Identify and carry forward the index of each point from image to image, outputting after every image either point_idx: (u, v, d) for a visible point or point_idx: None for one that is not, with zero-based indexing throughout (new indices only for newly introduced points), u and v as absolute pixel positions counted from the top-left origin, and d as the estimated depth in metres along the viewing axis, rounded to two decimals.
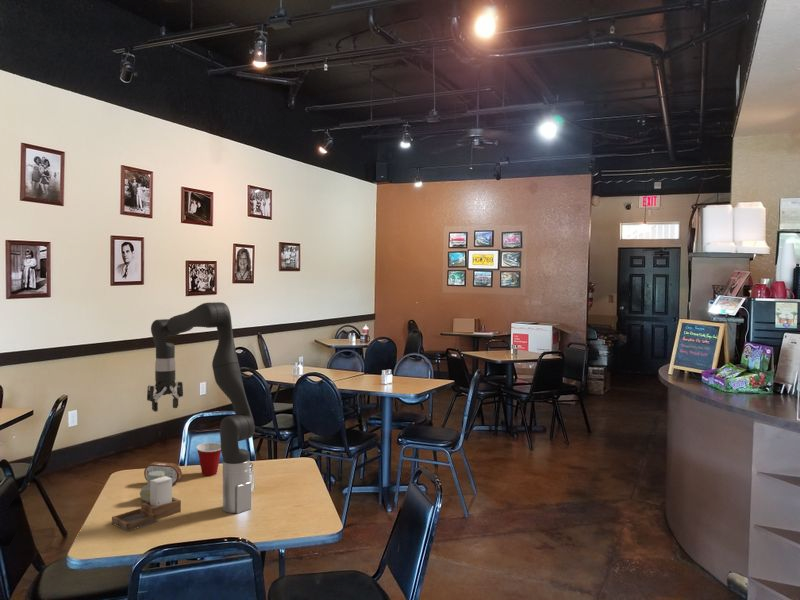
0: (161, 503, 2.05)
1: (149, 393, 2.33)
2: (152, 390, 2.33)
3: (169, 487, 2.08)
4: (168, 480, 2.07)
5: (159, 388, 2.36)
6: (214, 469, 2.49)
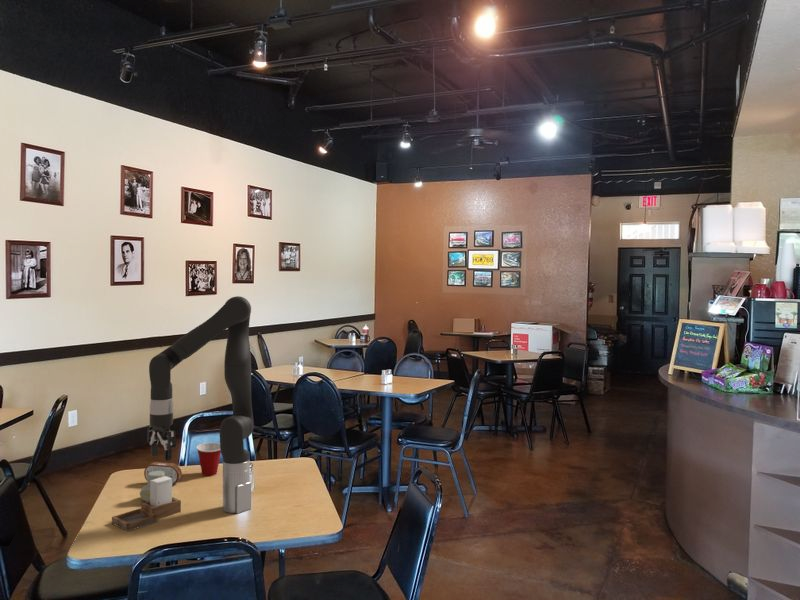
0: (161, 503, 2.05)
1: (173, 439, 2.03)
2: None
3: (169, 487, 2.08)
4: (168, 480, 2.07)
5: None
6: (214, 469, 2.49)
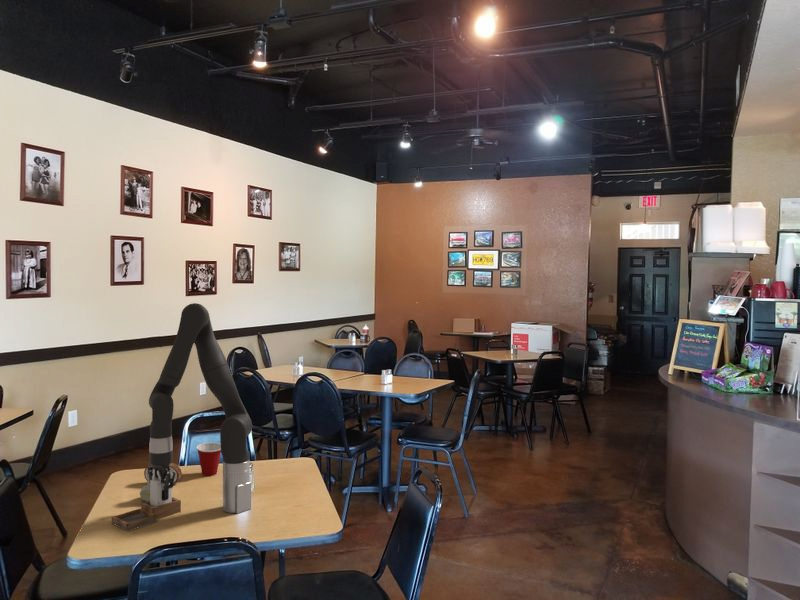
0: (161, 503, 2.05)
1: (171, 481, 2.04)
2: None
3: None
4: None
5: None
6: (214, 469, 2.49)
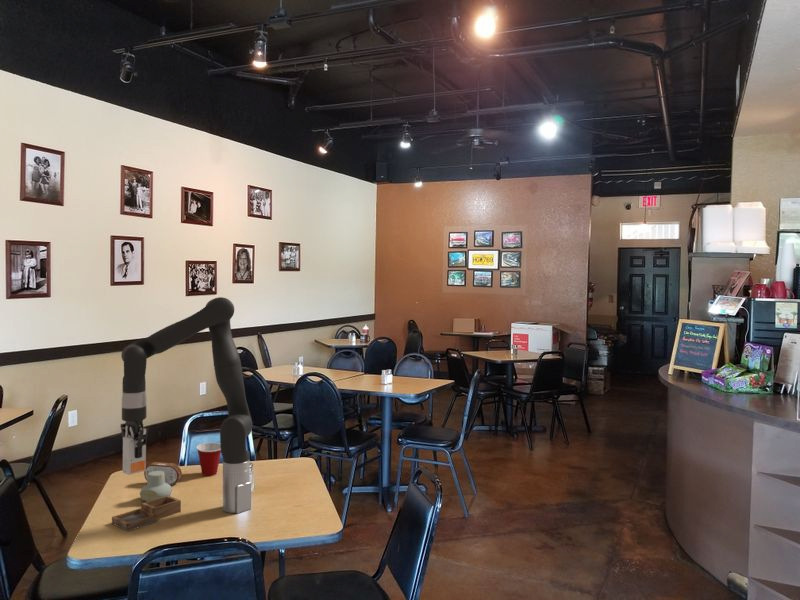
0: (134, 460, 1.97)
1: (144, 437, 1.95)
2: None
3: (143, 445, 1.99)
4: None
5: None
6: (214, 469, 2.49)
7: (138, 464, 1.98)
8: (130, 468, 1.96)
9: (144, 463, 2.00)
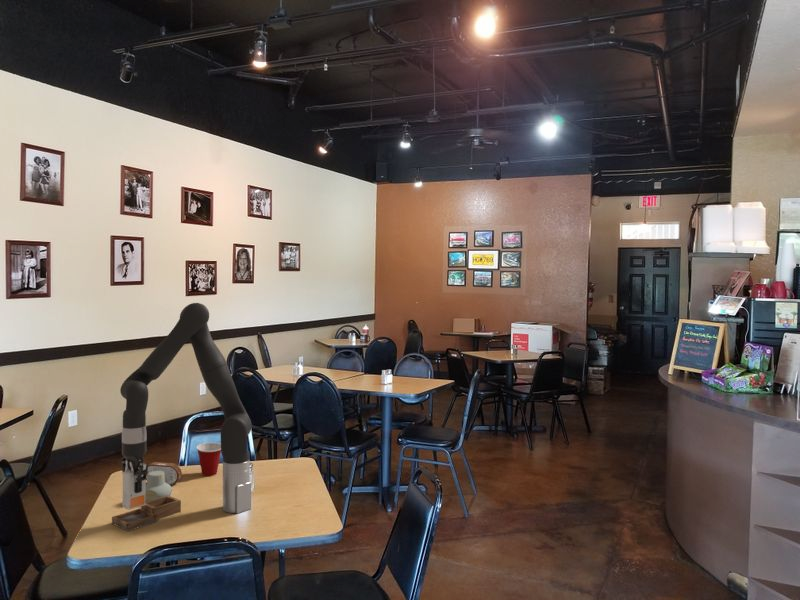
0: (134, 495, 1.97)
1: (144, 472, 1.96)
2: None
3: None
4: None
5: None
6: (214, 469, 2.49)
7: (138, 499, 1.98)
8: (129, 503, 1.96)
9: (144, 497, 2.00)
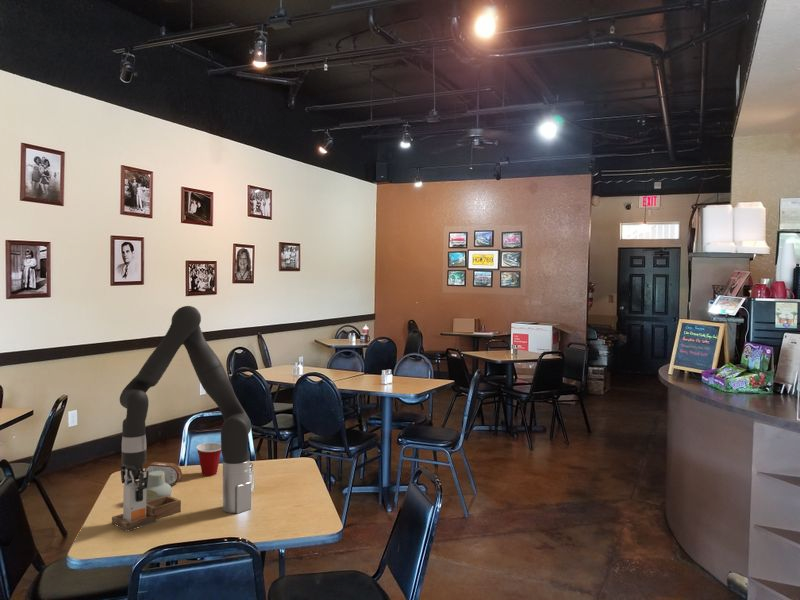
0: (135, 508, 1.97)
1: (145, 480, 1.95)
2: None
3: (143, 492, 1.99)
4: None
5: None
6: (214, 469, 2.49)
7: (138, 512, 1.98)
8: (130, 516, 1.96)
9: (144, 510, 2.00)
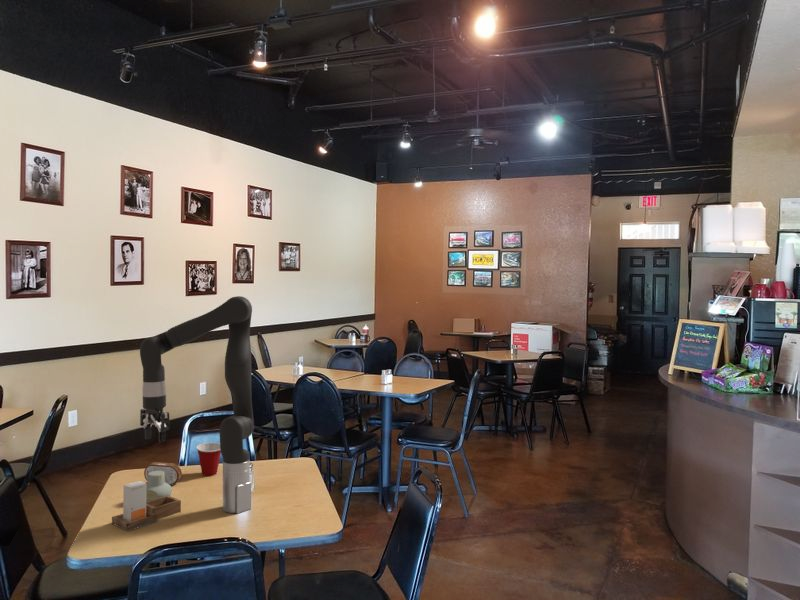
0: (135, 509, 1.97)
1: (167, 421, 2.05)
2: None
3: (143, 492, 1.99)
4: (142, 485, 1.99)
5: None
6: (214, 469, 2.49)
7: (138, 512, 1.98)
8: (130, 516, 1.96)
9: (144, 511, 2.00)
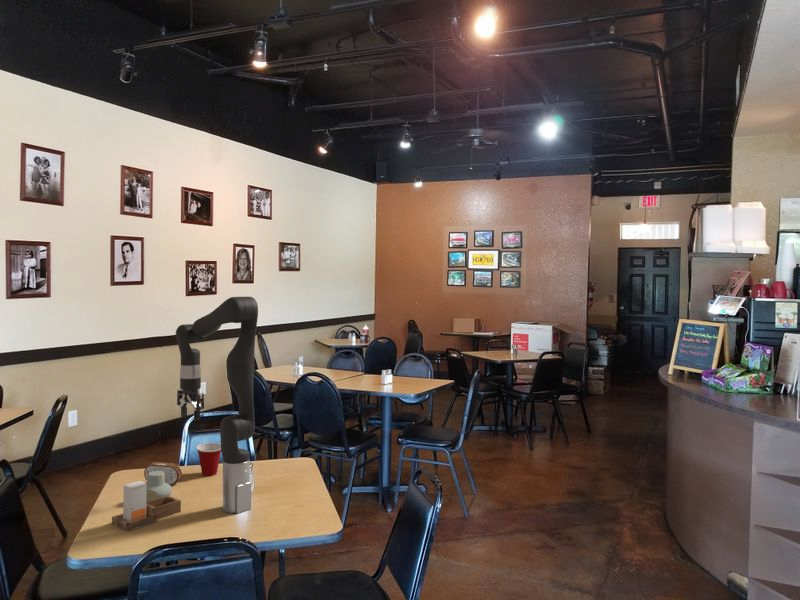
0: (135, 509, 1.97)
1: (202, 401, 2.25)
2: None
3: (143, 492, 1.99)
4: (142, 485, 1.99)
5: None
6: (214, 469, 2.49)
7: (138, 512, 1.98)
8: (130, 516, 1.96)
9: (144, 511, 2.00)
